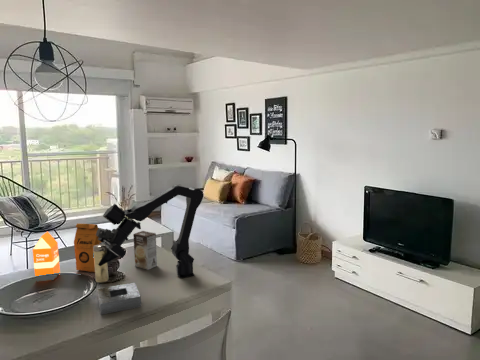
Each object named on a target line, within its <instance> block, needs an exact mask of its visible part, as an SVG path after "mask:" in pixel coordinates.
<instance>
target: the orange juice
mask: <svg viewBox="0 0 480 360" xmlns="http://www.w3.org/2000/svg"><path fill="white" fill-rule="evenodd" d="M58 245H59V244H58V241H57V240H56V239H55V238H54V236H52V234H51V233H50V232H49V231H46V232H45V233H43V234H42V235H41V236H40V238H39V240H38V241H37V243H36V244H35V246H34V247H33V249H32V257H33V259H32V260H33V269H34V275H35V276H39V275H46V274H54V273H59V272H60V273H61V267H60V255H59V246H58ZM35 276H34V277H35Z"/></svg>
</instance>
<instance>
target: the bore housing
mask: <svg viewBox="0 0 480 360" xmlns="http://www.w3.org/2000/svg"><path fill="white" fill-rule="evenodd" d="M141 296H142V295H141V294H140V291H139V289H138V286H137V284H136V282H130V283H125V284H120V285H119V284H118V285H112V286H107V287H101V288H97V299H98V307H99V312H100V313H99V314H100V315H106V314H111V313H116V312H121V311H126V310H131V309H136V308H141V307H142V298H141Z"/></svg>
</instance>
